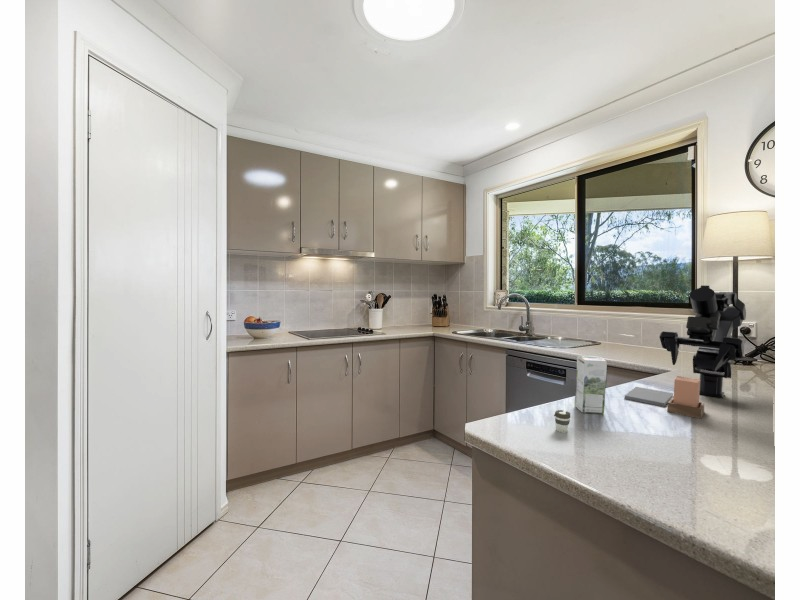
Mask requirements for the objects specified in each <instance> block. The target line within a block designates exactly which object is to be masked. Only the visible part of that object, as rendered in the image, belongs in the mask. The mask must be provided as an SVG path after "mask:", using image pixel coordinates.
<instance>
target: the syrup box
mask: <svg viewBox="0 0 800 600" xmlns="http://www.w3.org/2000/svg"><path fill="white" fill-rule="evenodd" d="M607 366H608V362H607V360H606V359H604V358H603V357H601V356H591V355H590V356H587V355H585V356H583V355H577V357H576V371H575V373H576V375H575V376H576V377H575V395H574V396H575V397H574V406H575V407H576V408H577V410H579V412H581V414H582V413H585V414H600V415H604V414H605V406H606V405H605V404H606V403H605V402H606V387H607V386H606V384H607V369H608V367H607Z"/></svg>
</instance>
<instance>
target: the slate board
mask: <svg viewBox="0 0 800 600" xmlns="http://www.w3.org/2000/svg"><path fill="white" fill-rule="evenodd" d="M672 397H674V392H668V391H662V390H657V389H651V388H645V387H640V386H635V387H634V388H633V389H631V390H629V391H628V393H626V394H624V400H628V399H630V401H633V400H635V401H634V402H638V401H640V403H643V402H645V404H648V403H650V404H649V405H653V406H659V407H665V406H666V405H668V402H669V401H670V399H671V398H672Z"/></svg>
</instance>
